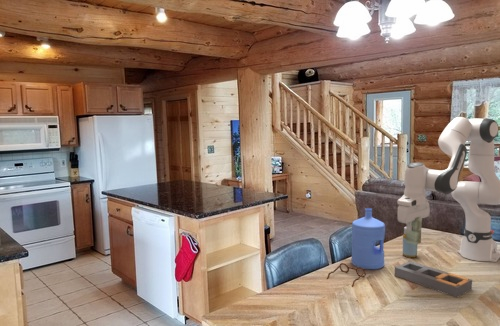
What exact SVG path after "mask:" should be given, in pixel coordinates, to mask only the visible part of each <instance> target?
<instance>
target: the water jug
mask: <svg viewBox="0 0 500 326" xmlns="http://www.w3.org/2000/svg"><path fill="white" fill-rule="evenodd" d="M364 210H365V212H364V213H365V214H364V216H363V217H360V218H358V219H355V220H353V221H352V223H351V234H352V235H351V264H352V265H353V266H354V267H356V268H359V267H360V268H363V269H364V270H379V269H381V268H383V267H384V266H385V250H384V245H385V244H384V240H385V236H386V225H385V223H384V222H383V221H381V220H379V219H377V218H374V217H373V215H372V214H373V212H372V210H373V208H370V207H367V208H364ZM378 241H379V247H378V246H376V245H375V242H378Z"/></svg>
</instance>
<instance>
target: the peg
mask: <svg viewBox="0 0 500 326" xmlns="http://www.w3.org/2000/svg"><path fill="white" fill-rule="evenodd" d="M422 221H423V218H422V217H417V218H415V221H412V224H411V225H412V227H413V230H412V231H408V230H407V227H406V226H405V227H406V242H407V243H411V244H415V245H416V244H417V245H418V244H421V243H422V223H423V222H422Z"/></svg>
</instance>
